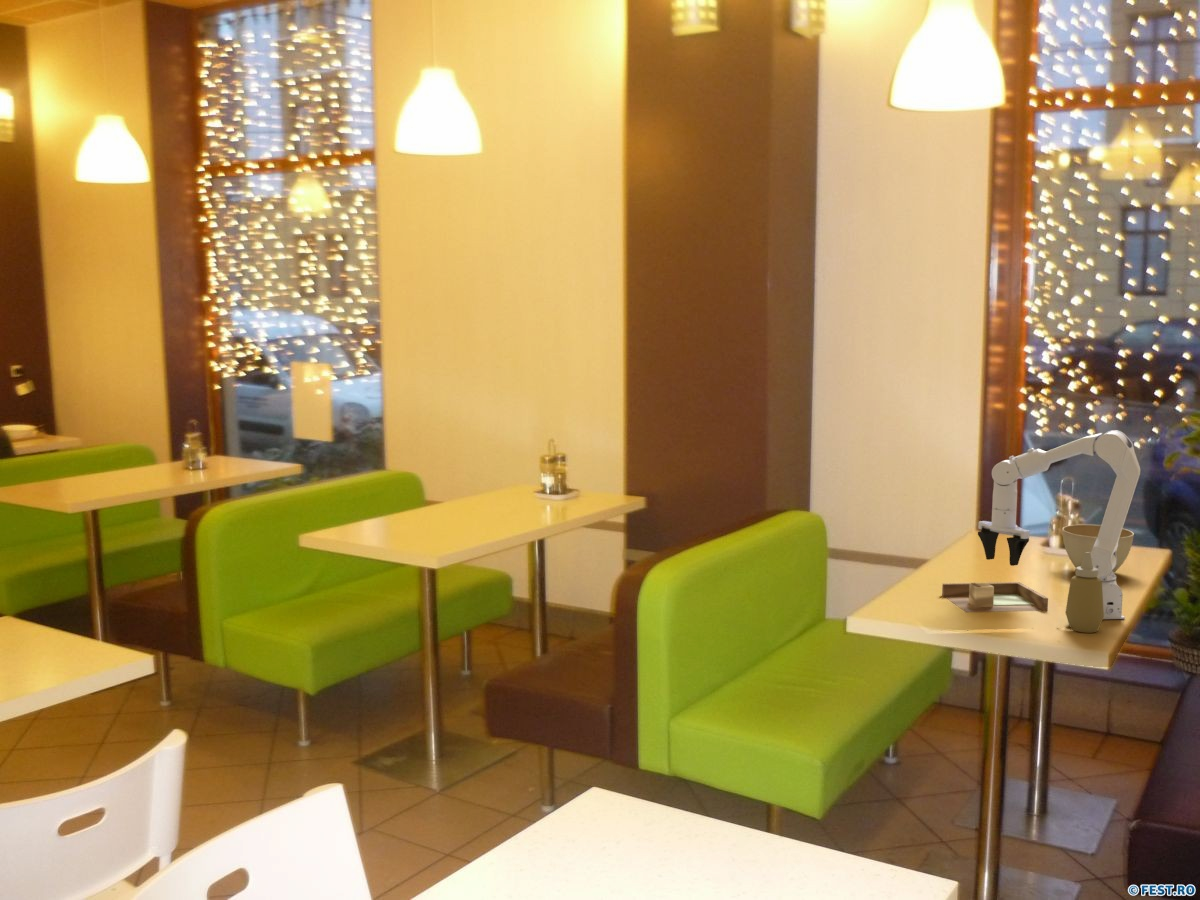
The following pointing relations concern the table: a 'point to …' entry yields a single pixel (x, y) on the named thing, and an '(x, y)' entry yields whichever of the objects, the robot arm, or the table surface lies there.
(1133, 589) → the table surface
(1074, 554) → the beige bowl
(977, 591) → the block
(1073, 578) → the squeeze bottle
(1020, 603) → the arena
